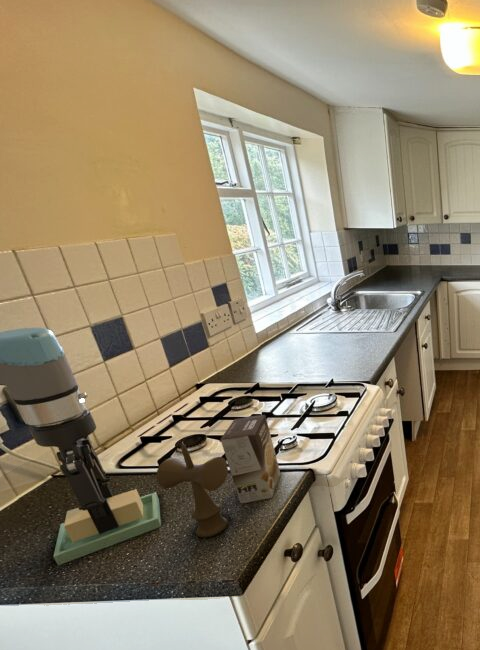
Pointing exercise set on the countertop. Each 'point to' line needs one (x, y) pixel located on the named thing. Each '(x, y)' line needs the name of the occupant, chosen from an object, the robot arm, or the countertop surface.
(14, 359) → the robot arm
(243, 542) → the countertop surface
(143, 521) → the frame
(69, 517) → the tan block
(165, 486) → the kendama
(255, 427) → the coffee box
